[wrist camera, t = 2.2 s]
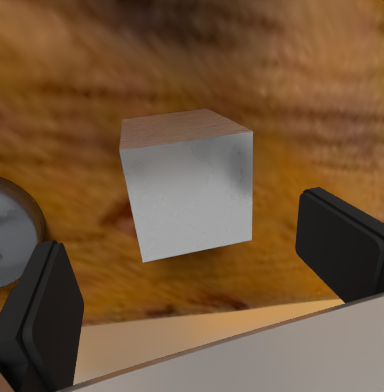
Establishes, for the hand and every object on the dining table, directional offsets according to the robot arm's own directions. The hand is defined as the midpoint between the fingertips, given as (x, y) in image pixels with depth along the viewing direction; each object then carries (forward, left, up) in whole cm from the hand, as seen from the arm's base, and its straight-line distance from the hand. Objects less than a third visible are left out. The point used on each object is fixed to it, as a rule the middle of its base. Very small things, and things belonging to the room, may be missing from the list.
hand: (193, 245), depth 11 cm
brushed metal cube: (-1, 0, -11) cm, 11 cm away
